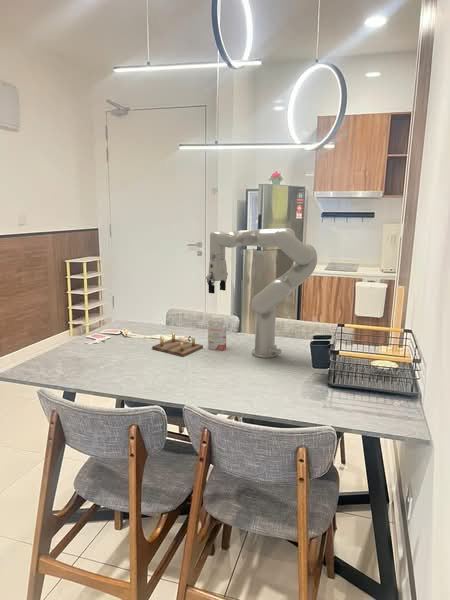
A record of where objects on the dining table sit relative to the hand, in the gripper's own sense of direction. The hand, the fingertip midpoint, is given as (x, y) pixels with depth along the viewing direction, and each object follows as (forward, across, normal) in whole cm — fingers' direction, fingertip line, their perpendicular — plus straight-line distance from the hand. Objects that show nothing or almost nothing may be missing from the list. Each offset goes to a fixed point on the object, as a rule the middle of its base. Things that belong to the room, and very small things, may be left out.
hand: (217, 291), depth 211 cm
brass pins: (+28, -12, +16) cm, 34 cm away
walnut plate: (+29, -12, +16) cm, 35 cm away
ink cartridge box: (+30, 0, 0) cm, 30 cm away
